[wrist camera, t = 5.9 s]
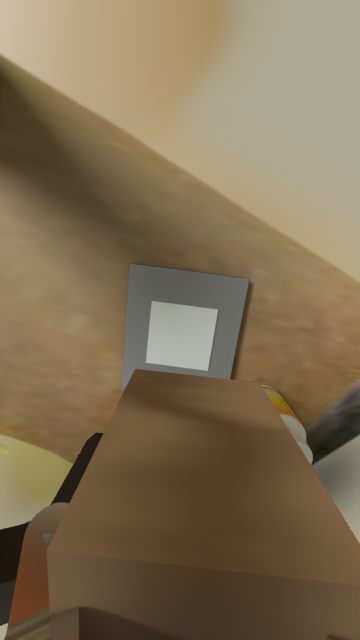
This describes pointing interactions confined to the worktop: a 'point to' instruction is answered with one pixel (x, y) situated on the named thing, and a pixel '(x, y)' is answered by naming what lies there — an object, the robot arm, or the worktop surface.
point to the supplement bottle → (289, 420)
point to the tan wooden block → (203, 524)
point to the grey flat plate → (182, 322)
